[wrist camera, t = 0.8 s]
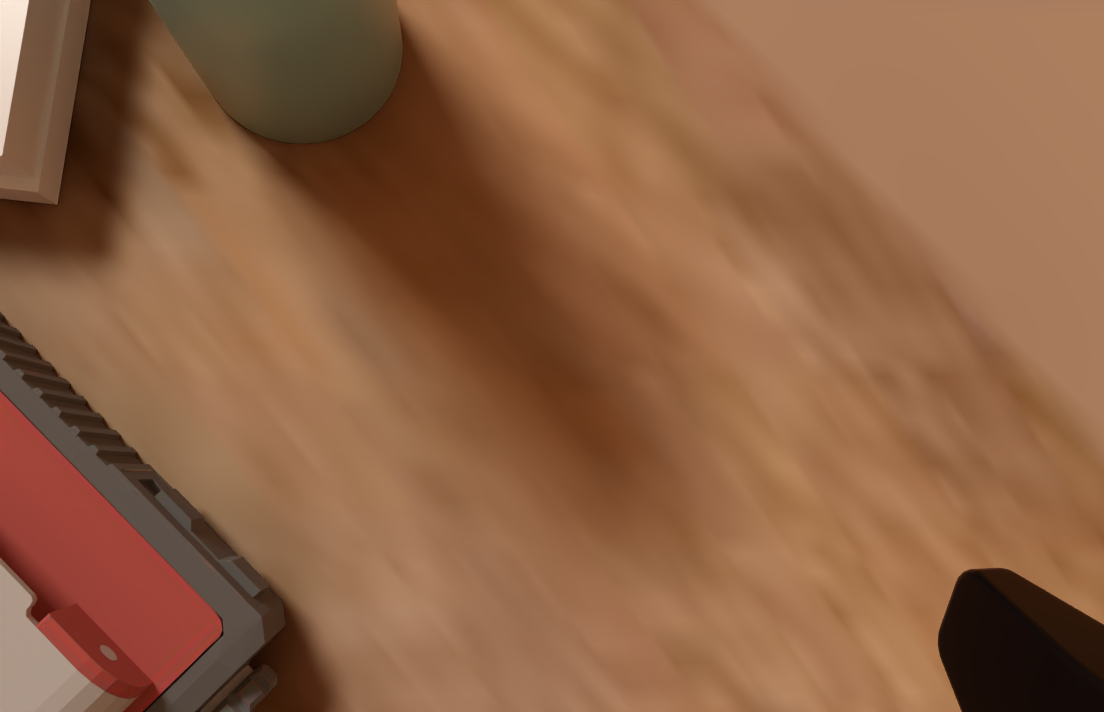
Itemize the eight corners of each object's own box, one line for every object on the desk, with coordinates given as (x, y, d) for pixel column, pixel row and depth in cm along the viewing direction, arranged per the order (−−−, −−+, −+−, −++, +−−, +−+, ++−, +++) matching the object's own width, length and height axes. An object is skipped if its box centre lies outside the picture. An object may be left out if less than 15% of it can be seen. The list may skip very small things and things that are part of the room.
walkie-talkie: (-394, 494, 21) (248, 1165, 20) (-624, 500, 16) (187, 1356, 16) (-70, 222, 22) (540, 845, 21) (-204, 160, 18) (558, 941, 17)
